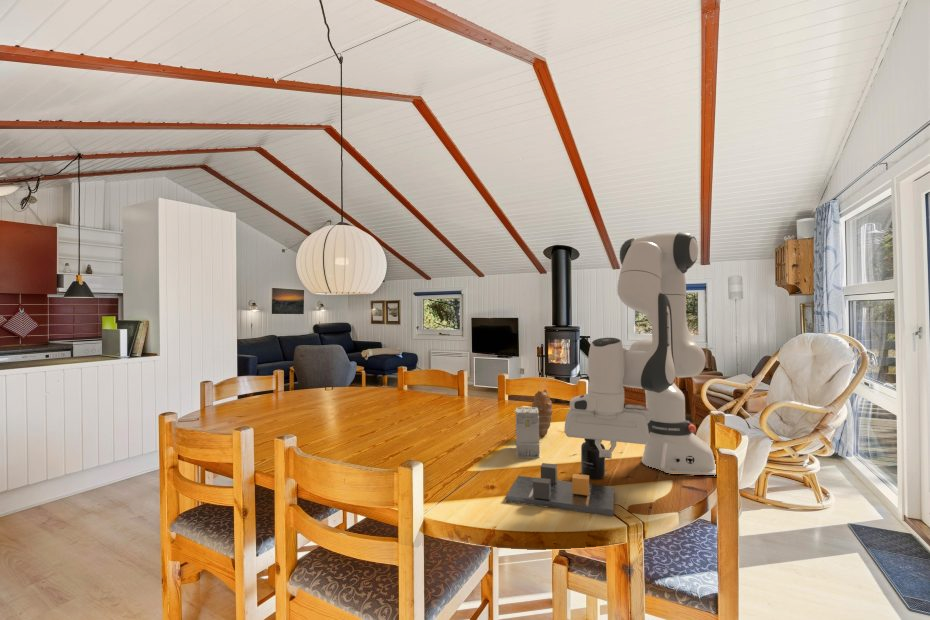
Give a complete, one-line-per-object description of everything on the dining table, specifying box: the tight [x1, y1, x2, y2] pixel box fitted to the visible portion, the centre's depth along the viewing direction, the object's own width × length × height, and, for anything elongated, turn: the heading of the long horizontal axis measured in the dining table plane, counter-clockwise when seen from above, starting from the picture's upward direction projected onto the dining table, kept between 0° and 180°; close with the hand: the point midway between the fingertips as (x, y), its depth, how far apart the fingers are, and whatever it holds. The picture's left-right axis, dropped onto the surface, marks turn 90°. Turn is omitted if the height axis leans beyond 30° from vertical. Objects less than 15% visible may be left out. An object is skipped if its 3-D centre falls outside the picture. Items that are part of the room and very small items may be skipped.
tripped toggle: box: [571, 473, 590, 495], centre depth 113 cm, size 4×3×4 cm
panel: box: [505, 475, 615, 517], centre depth 114 cm, size 26×14×2 cm, turn 70°
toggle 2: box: [533, 476, 551, 500], centre depth 111 cm, size 4×3×4 cm
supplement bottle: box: [580, 438, 606, 480], centre depth 129 cm, size 7×7×12 cm
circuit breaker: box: [515, 406, 541, 459], centre depth 152 cm, size 8×14×15 cm, turn 174°
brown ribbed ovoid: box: [531, 388, 553, 437], centre depth 169 cm, size 9×8×18 cm
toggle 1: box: [540, 462, 558, 483], centre depth 121 cm, size 4×3×4 cm
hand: (605, 457), depth 110 cm, fingers closed
